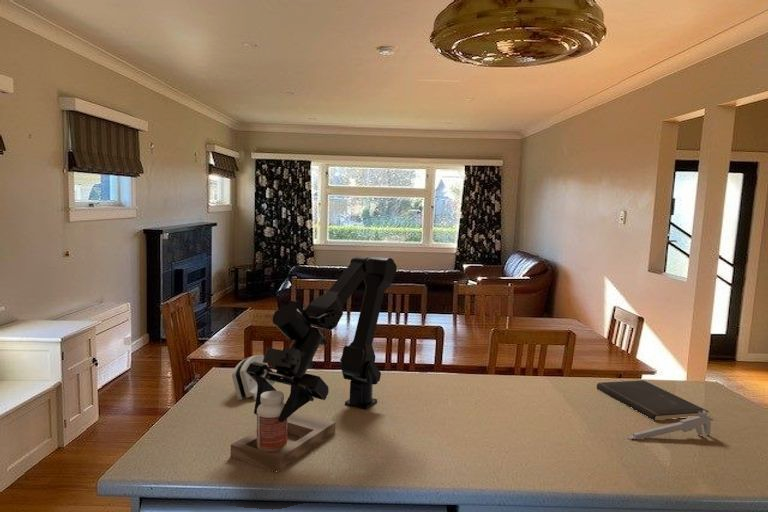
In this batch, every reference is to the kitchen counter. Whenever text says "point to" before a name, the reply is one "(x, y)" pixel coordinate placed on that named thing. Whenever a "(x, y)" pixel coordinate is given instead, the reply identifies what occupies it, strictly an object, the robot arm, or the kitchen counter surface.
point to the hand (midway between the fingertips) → (267, 417)
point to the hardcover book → (649, 399)
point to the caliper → (678, 427)
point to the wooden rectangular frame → (297, 424)
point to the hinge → (246, 378)
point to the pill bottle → (271, 422)
